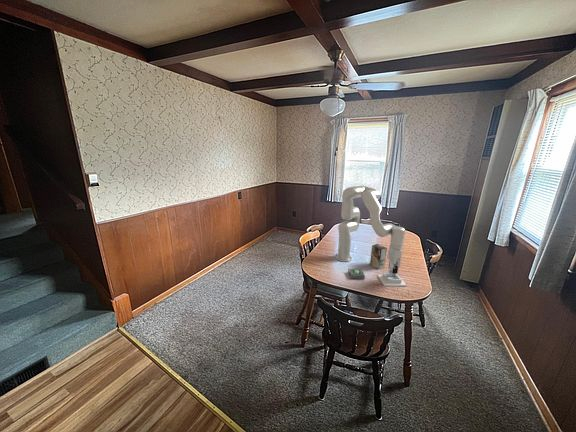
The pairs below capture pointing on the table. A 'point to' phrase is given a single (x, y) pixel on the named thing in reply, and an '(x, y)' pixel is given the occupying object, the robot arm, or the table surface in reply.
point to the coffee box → (378, 256)
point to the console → (356, 276)
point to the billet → (391, 268)
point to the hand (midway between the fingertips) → (392, 270)
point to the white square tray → (391, 280)
